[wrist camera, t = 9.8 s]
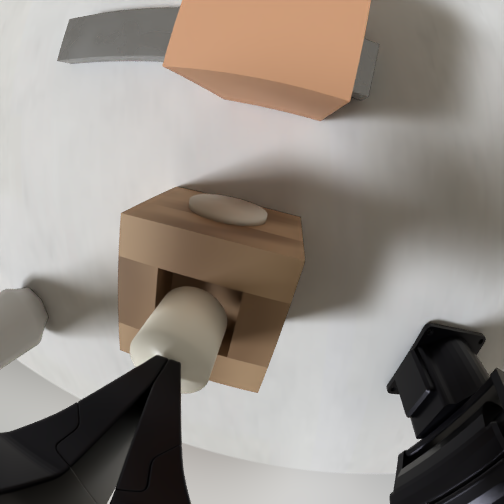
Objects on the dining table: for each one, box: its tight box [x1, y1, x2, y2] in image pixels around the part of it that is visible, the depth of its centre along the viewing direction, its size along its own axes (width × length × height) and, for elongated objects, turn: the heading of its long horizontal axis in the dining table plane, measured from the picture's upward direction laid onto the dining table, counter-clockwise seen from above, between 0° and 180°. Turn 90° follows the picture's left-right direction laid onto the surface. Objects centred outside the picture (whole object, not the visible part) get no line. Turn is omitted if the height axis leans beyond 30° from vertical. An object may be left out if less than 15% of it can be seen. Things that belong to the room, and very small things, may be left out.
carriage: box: [163, 0, 371, 121], centre depth 9 cm, size 5×7×8 cm
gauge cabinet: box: [118, 187, 305, 393], centre depth 14 cm, size 7×7×6 cm
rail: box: [57, 8, 379, 100], centre depth 12 cm, size 18×3×2 cm, turn 77°
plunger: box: [130, 286, 227, 394], centre depth 10 cm, size 3×3×3 cm
